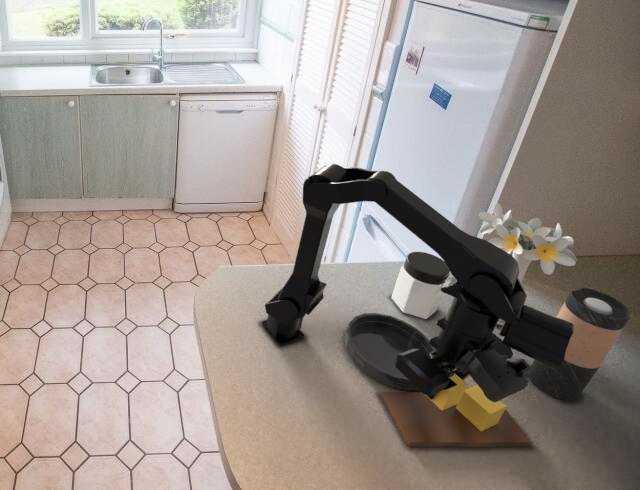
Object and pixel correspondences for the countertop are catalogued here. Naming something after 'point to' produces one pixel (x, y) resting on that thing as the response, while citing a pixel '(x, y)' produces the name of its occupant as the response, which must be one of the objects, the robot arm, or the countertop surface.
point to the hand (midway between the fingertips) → (438, 393)
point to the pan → (383, 346)
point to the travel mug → (582, 342)
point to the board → (446, 424)
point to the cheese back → (450, 394)
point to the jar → (420, 284)
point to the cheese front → (480, 408)
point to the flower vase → (528, 242)
